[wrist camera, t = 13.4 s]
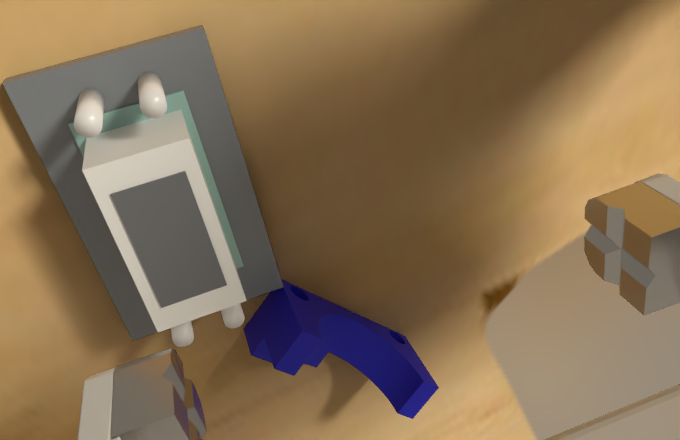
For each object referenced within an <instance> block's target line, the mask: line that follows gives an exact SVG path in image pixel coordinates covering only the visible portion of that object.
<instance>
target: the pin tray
mask: <svg viewBox="0 0 680 440" xmlns="http://www.w3.org/2000/svg"><path fill="white" fill-rule="evenodd" d="M3 86H4V88H5V90H6V92H7V94H8V96H9V98H10V100H11V101H12V103H13V105H14V107H15V109H16V111H17V113H18V115H19V117H20V119H21V121H22V123H23V125H24V127H25V129H26V131H27V133H28V135H29V137H30V139H31V141H32V143H33V145H34V147H35V149H36V151H37V153H38V155H39V157H40V159H41V161H42V163H43V165H44V167H45V169H46V171H47V172H48V174H49V176H50V178H51V180H52V182H53V184H54V186H55V188H56V190H57V192H58V194H59V196H60V198H61V200H62V202H63V204H64V206H65V208H66V210H67V212H68V214H69V216H70V218H71V220H72V222H73V224H74V226H75V228H76V230H77V232H78V234H79V236H80V238H81V240H82V242H83V243H84V245H85V247H86V249H87V251H88V253H89V255H90V257H91V259H92V261H93V263H94V265H95V267H96V269H97V271H98V273H99V275H100V277H101V279H102V281H103V283H104V285H105V287H106V289H107V291H108V293H109V295H110V297H111V299H112V301H113V303H114V305H115V307H116V309H117V311H118V313H119V314H120V316H121V318H122V320H123V322H124V324H125V326H126V328H127V330H128V332H129V334H130V336H131V338H132V340H133V341H134V340H137V339H140V338H143V337H145V336H148V335H151V334H154V333H157V332H158V331H157V329H156V327H155V325H154V323H153V321H152V319H151V316H150V314H149V312H148V310H147V308H146V306H145V304H144V301H143V299H142V297H141V295H140V293H139V291H138V289H137V287H136V284H135V282H134V280H133V278H132V276H131V274H130V272H129V269H128V267H127V265H126V263H125V261H124V259H123V257H122V255H121V252H120V250H119V248H118V246H117V244H116V242H115V240H114V237H113V235H112V233H111V231H110V229H109V227H108V225H107V222H106V220H105V218H104V216H103V214H102V212H101V210H100V208H99V205H98V203H97V201H96V199H95V197H94V195H93V193H92V190H91V188H90V186H89V184H88V182H87V180H86V178H85V176H84V173H83V171H82V167H83V160H84V152H85V145H86V137H87V138H92V137H95V136H97V135H98V134H99V133H103V132H106V131H109V130H113V129H116V128H120V127H123V126H126V125H130V124H133V123H137V122H140V121H144V120H147V119H150V118H153V119H155V118H159V117H161V116H163V115H164V114H168V113H171V112H174V111H178V110H181V111H182V114H183V117H184V119H185V122H186V125H187V128H188V131H189V134H190V137H191V139H192V142H193V145H194V148H195V151H196V154H197V157H198V159H199V162H200V165H201V168H202V171H203V174H204V177H205V180H206V182H207V185H208V188H209V191H210V194H211V197H212V200H213V202H214V205H215V208H216V211H217V214H218V217H219V220H220V222H221V225H222V228H223V231H224V234H225V237H226V240H227V242H228V245H229V248H230V251H231V254H232V257H233V260H234V263H235V266H236V269H237V272H238V275H239V278H240V282H241V285H242V288H243V291H244V294H245V297H246V300H249V299H252V298H254V297H257V296H260V295H263V294H266V293H268V292H271V291H274V290H277V289H280V288H282V287H284V286H283V283H282V280H281V277H280V273H279V270H278V267H277V264H276V260H275V257H274V254H273V251H272V247H271V244H270V241H269V238H268V234H267V231H266V228H265V225H264V221H263V218H262V215H261V212H260V208H259V205H258V202H257V199H256V195H255V192H254V189H253V186H252V182H251V179H250V176H249V173H248V169H247V166H246V163H245V160H244V156H243V153H242V150H241V147H240V143H239V140H238V137H237V134H236V130H235V127H234V124H233V121H232V117H231V114H230V111H229V108H228V104H227V101H226V98H225V95H224V91H223V88H222V85H221V82H220V78H219V75H218V72H217V69H216V66H215V62H214V59H213V56H212V53H211V49H210V46H209V43H208V40H207V36H206V33H205V30H204V28H203V26H202V25H201V26H197V27H193V28H190V29H186V30H182V31H179V32H175V33H171V34H168V35H164V36H160V37H157V38H153V39H149V40H145V41H142V42H138V43H134V44H131V45H127V46H123V47H120V48H116V49H112V50H109V51H105V52H101V53H98V54H94V55H90V56H87V57H83V58H79V59H76V60H72V61H68V62H65V63H61V64H57V65H53V66H50V67H46V68H42V69H39V70H35V71H31V72H28V73H24V74H20V75H17V76H13V77H9V78H6V79H5V80H4V82H3ZM221 313H222V317H223V321H224V324H225V326H226V327H228V328H238V327H240V326H241V325H242V324H243V323H244V320H245V317H244V314H243V311H242V307H241V304H237V305H234V306H231V307H228V308H226V309H223V310H221ZM171 333H172V341H173V343H174V344H175V345H176V346H178V347H185V346H188V345H190V344H191V343H192V342H193V340H194V333H193V327H192V322H191V321H189V322H186V323H183V324H181V325H178V326H175V327H172V328H171Z"/></svg>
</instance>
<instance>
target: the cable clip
mask: <svg viewBox="0 0 680 440" xmlns="http://www.w3.org/2000/svg"><path fill="white" fill-rule="evenodd" d="M281 280H282V279H281ZM282 283H283V286H284V287H282V288H280V289H277V290H274V291H271V292H270V293H269V295H268V296H267V297H266V299H265V300H264V302H263V303H262V304H261V306H260V307H259V308H258V310H257V311H256V313H255V314H254V315H253V317H252V318H251V319H250V321H249V322H248V324H247V325H246V326H245V328H244V332H245V335H246V339H247V342H248V346H249V349H250V352H251V355H252V356H255V357H258V358H260V359H263V360H266V361H268V362H271V363H273V366H274V369H277V370H280V371H283V372H285V373H288V374H291V375H295V374H296V373H297V371H298V370H299V369H300V367H301V366H302V365H303V364H307V365H311V366H314V367H317V366H318V365H319V363H320V362H321V361H322V360H323V358H324V357H325V356H326V354H327V353H328V352H330V353H332V354H334V355H336V356H338V357H340V358H342V359H344V360H345V361H347V362H348V363H350V364H351V365H353V366H354V367H356V368H357V369H358V370H360V371H361V372H362V373H363V374H365V375H366V376H367V377H368V378H369V379H370V380H371V381H372V382H373V383H374V384H375V385H376V386H377V387H378V388H379V389H380V390H381V391H382V392H383V393H384V395H385V396H386V397H387V398H388V400H389V401H390V402H391V404H392V405H393V407H394V408H395V410H396V412H397V413H398V414H401V415H404V416H406V417H409V418H412V419H413V418H414V416H415V415H416V414H417V413H418V412H419V410H420V409H421V408H422V407H423V406H424V405H425V403H426V402H427V401H428V400H429V399H430V397H431V396H432V395H433V394H434V393H435V391H436V390H437V389H438V388H439V387H438V386H437V384H436V383H435V381H434V380H433V378H432V377H431V375H430V374H429V372H428V371H427V369H426V367H425V366H424V364H423V363H422V361H421V360H420V358H419V357H418V355H417V354H416V352H415V351H414V349H413V348H412V346H411V345H410V343H409V342H408V340H407V339H406V337H405V336H403V335H401V334H399V333H397V332H395V331H393V330H390V329H388V328H386V327H384V326H382V325H379V324H377V323H375V322H373V321H371V320H369V319H366V318H364V317H362V316H360V315H358V314H356V313H353V312H351V311H349V310H347V309H345V308H343V307H340V306H338V305H336V304H334V303H332V302H330V301H327V300H325V299H323V298H321V297H319V296H316V295H314V294H312V293H310V292H308V291H306V290H303V289H301V288H299V287H297V286H295V285H293V284H290V283H288V282H286V281H284V280H282Z"/></svg>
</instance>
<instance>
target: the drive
mask: <svg viewBox="0 0 680 440" xmlns="http://www.w3.org/2000/svg"><path fill="white" fill-rule="evenodd" d="M82 171H83V173H84V176H85V178H86V180H87V182H88V184H89V186H90V188H91V190H92V193H93V195H94V197H95V199H96V201H97V203H98V205H99V208H100V210H101V212H102V214H103V216H104V218H105V220H106V222H107V225H108V227H109V229H110V231H111V233H112V235H113V237H114V240H115V242H116V244H117V246H118V248H119V250H120V252H121V255H122V257H123V259H124V261H125V263H126V265H127V267H128V269H129V272H130V274H131V276H132V278H133V280H134V282H135V284H136V287H137V289H138V291H139V293H140V295H141V297H142V299H143V301H144V304H145V306H146V308H147V310H148V312H149V314H150V316H151V319H152V321H153V323H154V325H155V327H156V329H157V331H158V332H161V331H164V330H167V329H169V328H172V327H175V326H178V325H181V324H183V323H186V322H189V321H192V320H195V319H197V318H200V317H203V316H206V315H209V314H212V313H214V312H217V311H220V310H223V309H226V308H228V307H231V306H234V305H237V304H240V303H242V302H245V301H247V300H246V297H245V294H244V291H243V288H242V285H241V282H240V278H239V275H238V272H237V269H236V266H235V263H234V260H233V257H232V254H231V251H230V248H229V245H228V242H227V240H226V237H225V234H224V231H223V228H222V225H221V222H220V220H219V217H218V214H217V211H216V208H215V205H214V202H213V200H212V197H211V194H210V191H209V188H208V185H207V182H206V180H205V177H204V174H203V171H202V168H201V165H200V162H199V159H198V157H197V154H196V151H195V148H194V145H193V142H192V139H191V137H190V134H189V131H188V128H187V125H186V122H185V119H184V117H183V114H182V111H181V110H178V111H174V112H171V113H168V114H164V115H163V116H161V117H159V118H155V119H153V118H150V119H147V120H144V121H140V122H137V123H133V124H130V125H126V126H123V127H120V128H116V129H113V130H109V131H106V132H103V133H99V134H98V135H97V136H95V137H92V138H87V137H86V145H85V152H84V160H83V167H82Z"/></svg>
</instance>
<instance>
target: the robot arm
mask: <svg viewBox="0 0 680 440" xmlns="http://www.w3.org/2000/svg"><path fill="white" fill-rule="evenodd" d="M585 219H586V220H587V221H588V222H589V223H590V224H591V227H590V228H589V230H588V232H587V233H586V235H585V237H584V249H585V250H584V251H585V254H586V256H587V259H588V261H589V264H590V266H591V267H592V268H593V270H594V271H595V273H596V274H597V275H599V276H600V277H601V278H602V279H603V280H604V281H607V282H611V283H614V284H618V285H619V292H620V295H621V296H622V297H623V298H624V299H626V300H627V301H628V302H629V303H630V304H631V305H632V306H634V307H635V308H636V309H637V310H638V311H639V312H641V313H642V314H643V315H647V314H650V313H652V312H655V311H658V310H661V309H664V308H666V307H669V306H672V305H674V304H678V303H680V182H678V181H677V180H675V179H673V178H671V177H670V176H668V175H665V174H656V175H653V176H650V177H648V178H645V179H642V180H640V181H637V182H635V183H634V184H631V185H628V186H625V187H623V188H620V189H617V190H614V191H612V192H609V193H606V194H603V195H601V196H598V197H595V198H592V199H590V200H588V202H587V204H586V207H585ZM205 432H206V425H205V418H204V414H203V410H202V406H201V402H200V399H199V397H198V394H197V391H196V389H195V387H194V385H193V383H192V381H191V380H189V379H187V378H185V377H184V372H183V363H182V361H181V359H180V357H179V356H178V354H177V352H176V350H174V349H173V348H170V349H167V350H164V351H161V352H158V353H155V354H152V355H149V356H146V357H143V358H140V359H137V360H134V361H131V362H128V363H125V364H122V365H119V366H117V367H116V368H112V369H109V370H106V371H103V372H100V373H97V374H94V375H91V376H88V377H87V379H86V380H85V382H84V385H83V394H82V403H81V413H80V422H79V431H78V440H203V439H202V438H203V436H204V434H205ZM545 440H680V384H679V385H676V386H674V387H671V388H669V389H666V390H664V391H661V392H659V393H657V394H655V395H652V396H649V397H647V398H644V399H642V400H640V401H637V402H635V403H632V404H630V405H627V406H625V407H623V408H620V409H618V410H615V411H613V412H610V413H608V414H605V415H603V416H601V417H598V418H596V419H594V420H591V421H589V422H586V423H583V424H581V425H579V426H576V427H574V428H571V429H569V430H566V431H564V432H562V433H559V434H557V435H554V436H552V437H549V438H547V439H545Z"/></svg>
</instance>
